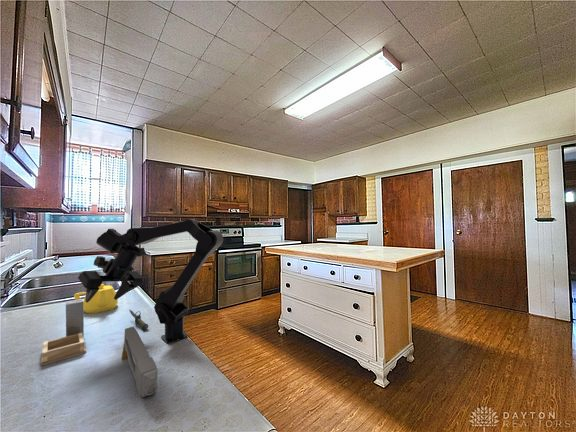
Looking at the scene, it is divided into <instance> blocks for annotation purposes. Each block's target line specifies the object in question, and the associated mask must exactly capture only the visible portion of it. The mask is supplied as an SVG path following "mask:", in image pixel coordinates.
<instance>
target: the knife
mask: <svg viewBox="0 0 576 432" xmlns="http://www.w3.org/2000/svg"><path fill="white" fill-rule="evenodd" d="M128 310H129V313H130V314H131V315H132V317H133V318H134V323H135V325H136V326H138V325H140V327H141V329H142V330H143V331H146V330H147V329H148V328H149V324H147V323H146V322H144V320H142V318H141V317H142V316H141V314H142V313H141V311H139V310H138V311H136V312H134V311H133V310H132V309H128ZM137 313H139V314H137Z"/></svg>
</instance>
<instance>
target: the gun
mask: <svg viewBox="0 0 576 432" xmlns="http://www.w3.org/2000/svg"><path fill="white" fill-rule="evenodd" d="M123 338H124V341H123V346H122V352H121V360H124V359H127V361H128V364H129V367H130V369H131V372H132V375H133V377H134V380H135V387H136V391H137V395H138V397H139V398H144V397H147V396H152V395H153V394H154V393H156V392H157V391H158V390H157V389H158V384H157V383H158V368H157V364H156V362H155V360H154V359H153V357H152V356H150V354H149V352H148V349H147V348H146V346H145V343H144V342H143V340H142V339H141V336H140V335H139V333H138V331H137V329H136V328H135V326H129V327H126V328H124V337H123Z"/></svg>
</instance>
